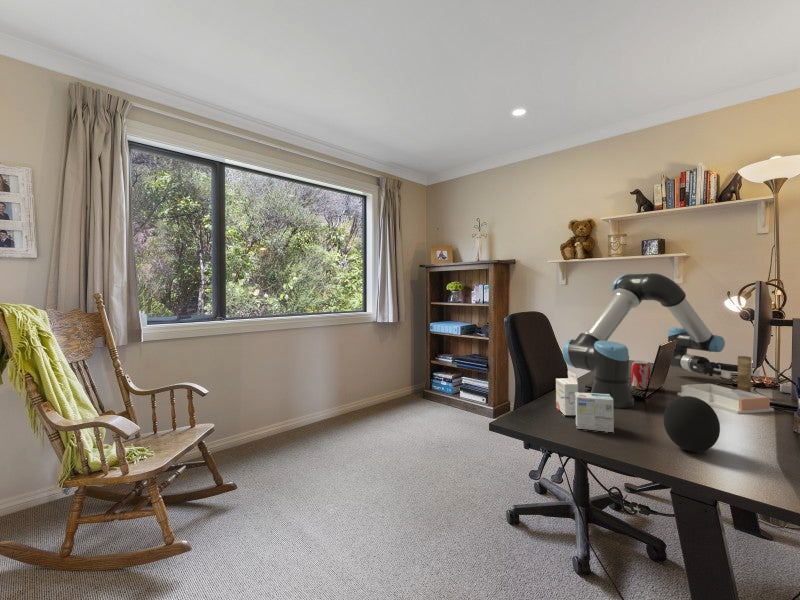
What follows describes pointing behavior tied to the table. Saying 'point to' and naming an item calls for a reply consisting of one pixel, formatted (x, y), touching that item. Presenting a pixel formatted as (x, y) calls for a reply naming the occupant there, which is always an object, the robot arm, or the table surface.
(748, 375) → the headed peg
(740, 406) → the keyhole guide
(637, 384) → the soda can
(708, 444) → the decorative egg
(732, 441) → the table surface
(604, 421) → the light bulb box
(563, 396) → the ink cartridge box
